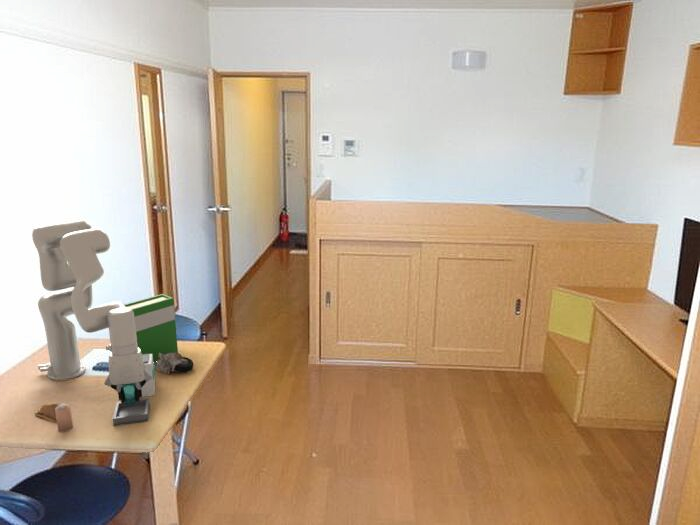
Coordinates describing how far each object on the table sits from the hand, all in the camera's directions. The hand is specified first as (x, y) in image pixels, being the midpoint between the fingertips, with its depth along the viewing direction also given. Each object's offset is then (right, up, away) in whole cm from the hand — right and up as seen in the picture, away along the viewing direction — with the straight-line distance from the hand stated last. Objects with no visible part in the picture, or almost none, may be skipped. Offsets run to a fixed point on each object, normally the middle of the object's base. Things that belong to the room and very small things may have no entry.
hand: (130, 399), depth 167 cm
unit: (-3, -1, +16) cm, 16 cm away
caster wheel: (+4, +3, +32) cm, 33 cm away
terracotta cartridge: (-18, -7, -6) cm, 20 cm away
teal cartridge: (0, -1, 0) cm, 1 cm away
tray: (0, -5, +2) cm, 6 cm away
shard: (-25, -5, +3) cm, 26 cm away
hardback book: (-8, +6, +41) cm, 42 cm away
